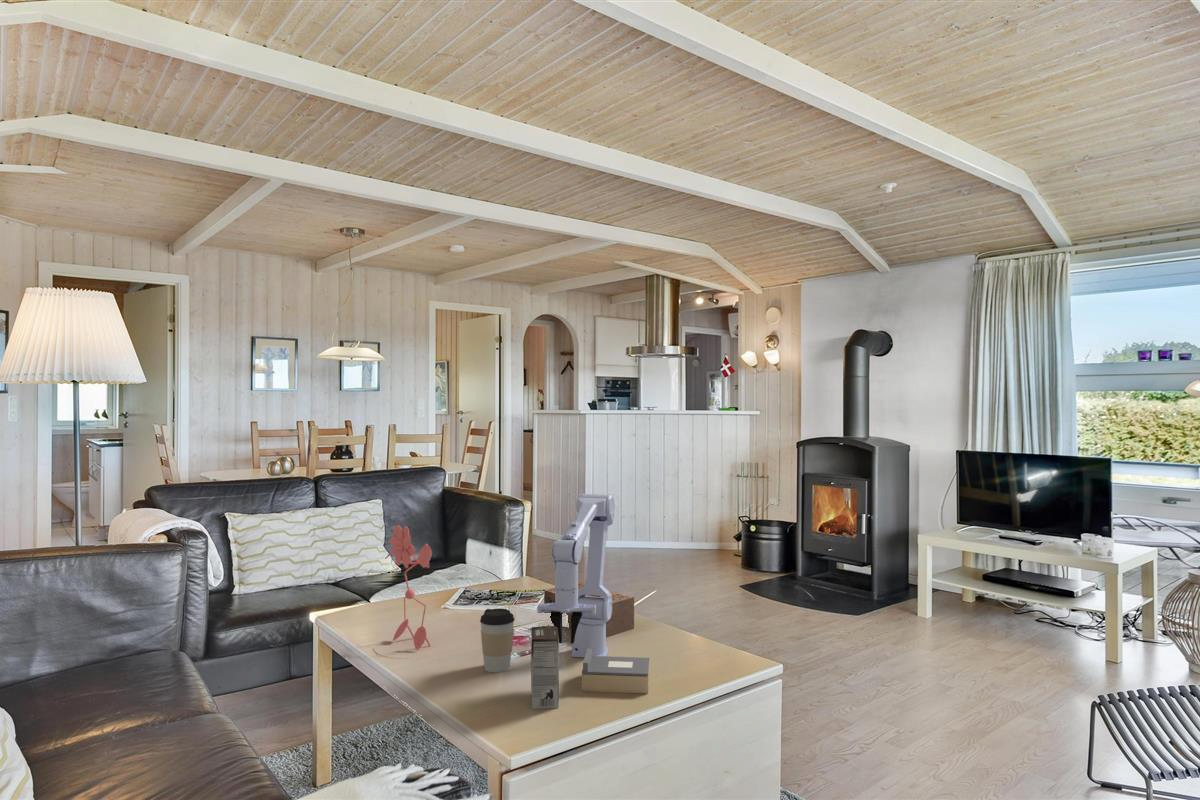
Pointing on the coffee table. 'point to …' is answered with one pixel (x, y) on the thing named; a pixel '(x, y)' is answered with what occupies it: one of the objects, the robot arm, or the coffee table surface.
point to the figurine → (403, 552)
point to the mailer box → (615, 683)
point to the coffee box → (544, 667)
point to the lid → (615, 665)
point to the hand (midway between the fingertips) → (566, 642)
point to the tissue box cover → (620, 611)
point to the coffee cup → (497, 639)
